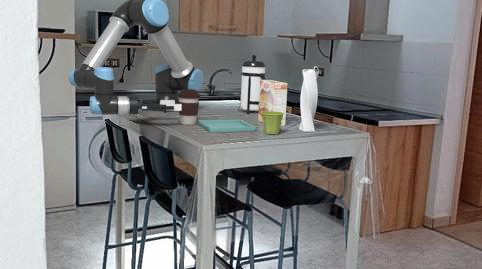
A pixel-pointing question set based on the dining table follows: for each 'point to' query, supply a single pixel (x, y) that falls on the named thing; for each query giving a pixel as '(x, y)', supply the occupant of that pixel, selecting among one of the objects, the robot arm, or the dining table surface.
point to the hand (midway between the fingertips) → (178, 105)
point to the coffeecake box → (272, 98)
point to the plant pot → (272, 121)
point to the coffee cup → (188, 106)
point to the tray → (226, 126)
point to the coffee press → (251, 84)
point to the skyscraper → (308, 100)
